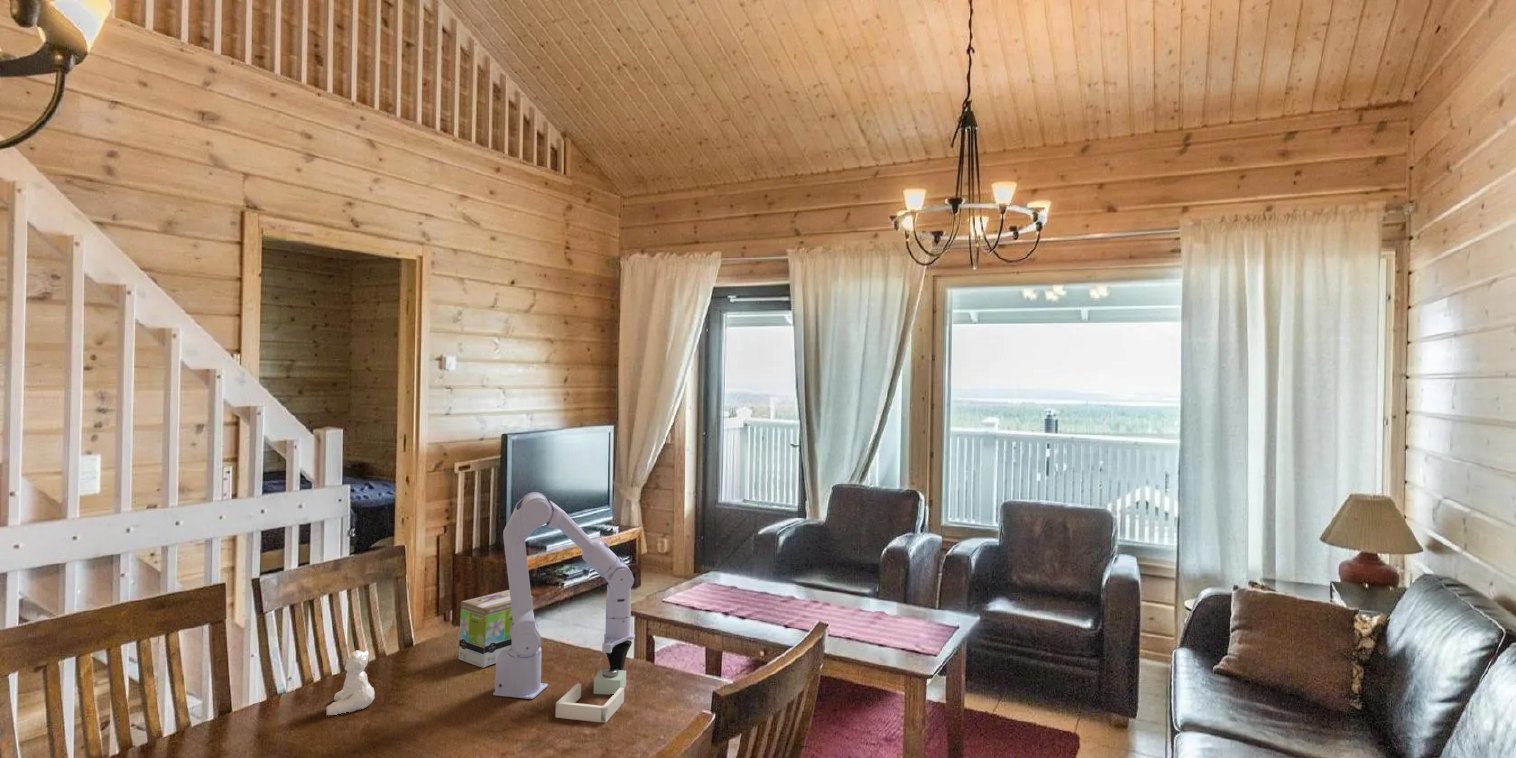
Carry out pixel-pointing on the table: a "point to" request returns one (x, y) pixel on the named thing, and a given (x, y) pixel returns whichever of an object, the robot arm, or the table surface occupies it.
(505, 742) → the table surface
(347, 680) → the seated beast figurine
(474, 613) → the tea box
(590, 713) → the housing bay
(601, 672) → the block
